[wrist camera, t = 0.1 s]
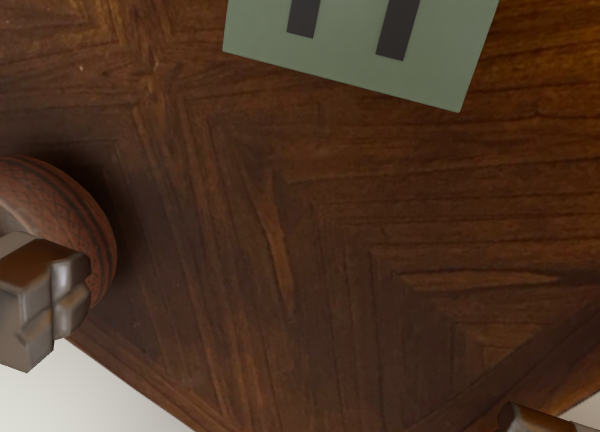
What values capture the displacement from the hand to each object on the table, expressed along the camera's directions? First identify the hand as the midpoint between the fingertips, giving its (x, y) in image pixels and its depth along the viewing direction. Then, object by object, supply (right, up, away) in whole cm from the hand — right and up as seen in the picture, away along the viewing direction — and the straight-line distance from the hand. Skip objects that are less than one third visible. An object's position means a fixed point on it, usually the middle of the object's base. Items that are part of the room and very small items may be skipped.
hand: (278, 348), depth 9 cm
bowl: (-22, +2, +39) cm, 45 cm away
